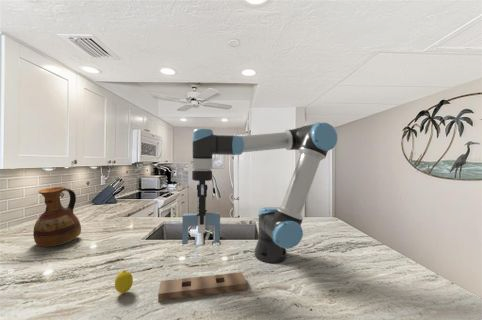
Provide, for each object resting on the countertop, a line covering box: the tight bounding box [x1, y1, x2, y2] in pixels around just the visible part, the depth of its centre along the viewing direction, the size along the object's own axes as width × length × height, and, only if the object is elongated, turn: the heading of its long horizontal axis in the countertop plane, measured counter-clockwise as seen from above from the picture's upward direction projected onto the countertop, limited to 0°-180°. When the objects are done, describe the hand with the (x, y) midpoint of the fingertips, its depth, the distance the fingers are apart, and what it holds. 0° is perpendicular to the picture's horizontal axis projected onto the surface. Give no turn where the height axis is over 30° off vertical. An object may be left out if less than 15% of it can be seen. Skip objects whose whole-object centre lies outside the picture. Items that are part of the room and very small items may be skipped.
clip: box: [181, 212, 221, 245], centre depth 90 cm, size 14×3×11 cm, turn 101°
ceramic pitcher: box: [32, 186, 82, 247], centre depth 126 cm, size 20×20×30 cm
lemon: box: [114, 270, 134, 295], centre depth 81 cm, size 6×6×8 cm
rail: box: [157, 272, 248, 302], centre depth 84 cm, size 30×8×2 cm, turn 103°
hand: (201, 230), depth 90 cm, fingers closed on clip, 3 cm apart
